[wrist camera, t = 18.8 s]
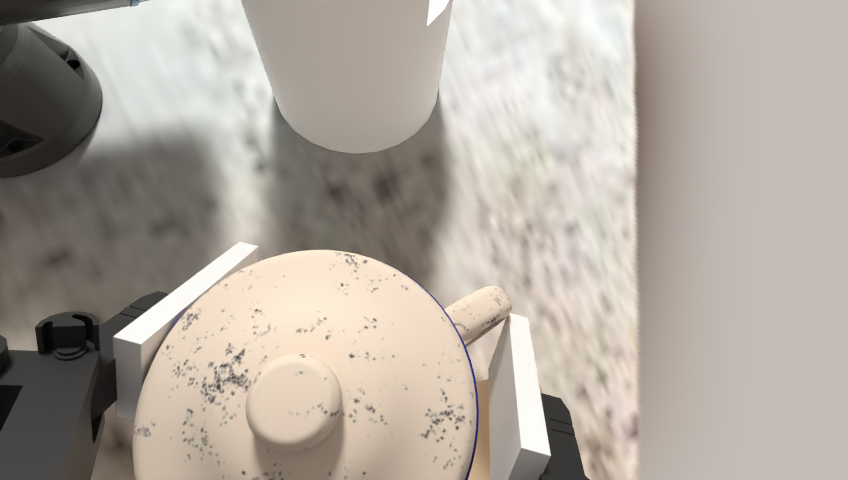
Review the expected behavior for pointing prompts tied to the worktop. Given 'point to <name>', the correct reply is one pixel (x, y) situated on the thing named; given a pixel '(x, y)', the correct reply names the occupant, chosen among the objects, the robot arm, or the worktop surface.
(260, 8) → the cylinder
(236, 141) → the worktop surface
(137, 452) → the teacup with lid
